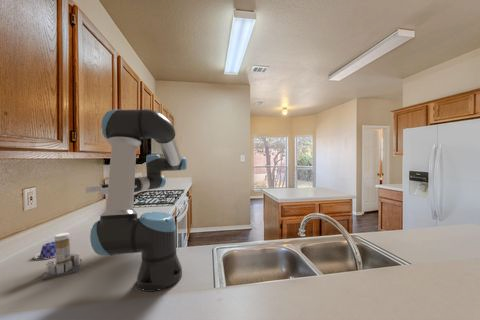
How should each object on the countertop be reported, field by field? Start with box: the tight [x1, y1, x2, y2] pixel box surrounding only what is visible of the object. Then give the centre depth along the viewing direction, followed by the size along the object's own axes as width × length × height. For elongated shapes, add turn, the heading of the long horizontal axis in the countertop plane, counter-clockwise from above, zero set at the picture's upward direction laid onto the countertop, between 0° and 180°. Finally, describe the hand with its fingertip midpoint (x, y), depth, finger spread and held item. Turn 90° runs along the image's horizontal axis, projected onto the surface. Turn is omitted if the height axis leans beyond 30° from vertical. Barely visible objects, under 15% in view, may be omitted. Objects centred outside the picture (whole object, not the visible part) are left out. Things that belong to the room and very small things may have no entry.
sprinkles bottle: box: [54, 232, 71, 264], centre depth 84 cm, size 5×5×14 cm
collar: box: [42, 253, 83, 280], centre depth 84 cm, size 10×10×4 cm
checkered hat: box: [33, 241, 56, 260], centre depth 99 cm, size 12×12×5 cm
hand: (93, 190), depth 93 cm, fingers open, 13 cm apart
